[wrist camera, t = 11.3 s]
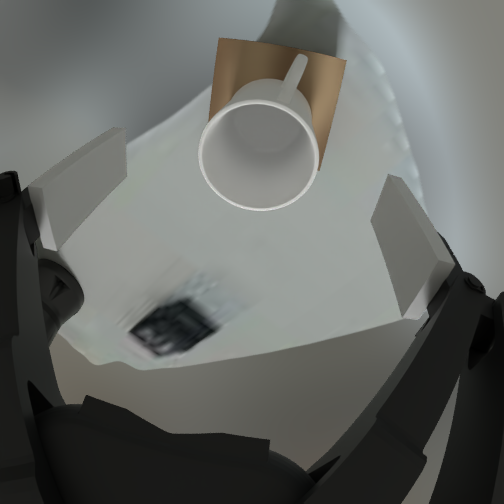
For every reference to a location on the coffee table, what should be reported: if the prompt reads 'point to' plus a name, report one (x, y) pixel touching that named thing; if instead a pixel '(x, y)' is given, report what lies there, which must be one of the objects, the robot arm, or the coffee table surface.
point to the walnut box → (276, 67)
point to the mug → (262, 144)
